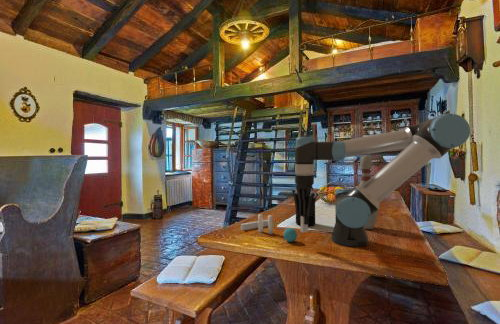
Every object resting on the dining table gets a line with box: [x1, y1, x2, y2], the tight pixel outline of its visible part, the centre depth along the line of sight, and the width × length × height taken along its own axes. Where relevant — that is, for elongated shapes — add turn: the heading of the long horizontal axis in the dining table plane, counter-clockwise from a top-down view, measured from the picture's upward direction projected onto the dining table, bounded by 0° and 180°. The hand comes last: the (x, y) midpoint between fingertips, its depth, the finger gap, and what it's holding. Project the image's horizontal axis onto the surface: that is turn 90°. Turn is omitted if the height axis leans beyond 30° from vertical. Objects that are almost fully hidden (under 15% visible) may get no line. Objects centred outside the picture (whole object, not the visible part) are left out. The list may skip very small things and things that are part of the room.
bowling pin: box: [358, 154, 379, 230], centre depth 136 cm, size 11×12×38 cm
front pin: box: [267, 215, 274, 235], centre depth 128 cm, size 2×2×9 cm
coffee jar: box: [295, 205, 316, 228], centre depth 144 cm, size 11×11×18 cm
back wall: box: [240, 219, 268, 231], centre depth 140 cm, size 2×18×3 cm, turn 121°
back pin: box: [257, 213, 264, 233], centre depth 131 cm, size 2×2×9 cm
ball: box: [283, 227, 298, 243], centre depth 116 cm, size 6×6×6 cm
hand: (304, 231), depth 108 cm, fingers closed
